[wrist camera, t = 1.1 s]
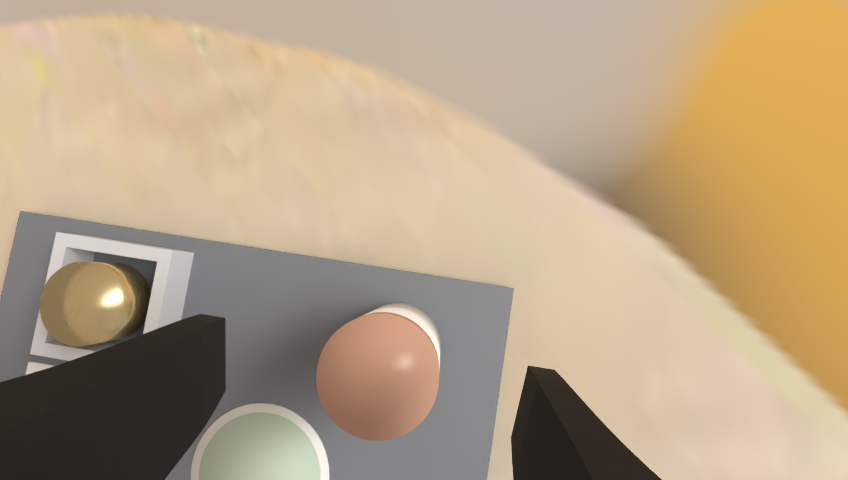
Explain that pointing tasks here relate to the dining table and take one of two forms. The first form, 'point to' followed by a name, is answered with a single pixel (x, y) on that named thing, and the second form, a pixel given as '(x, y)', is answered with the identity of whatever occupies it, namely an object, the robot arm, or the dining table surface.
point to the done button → (94, 302)
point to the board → (276, 348)
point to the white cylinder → (381, 372)
